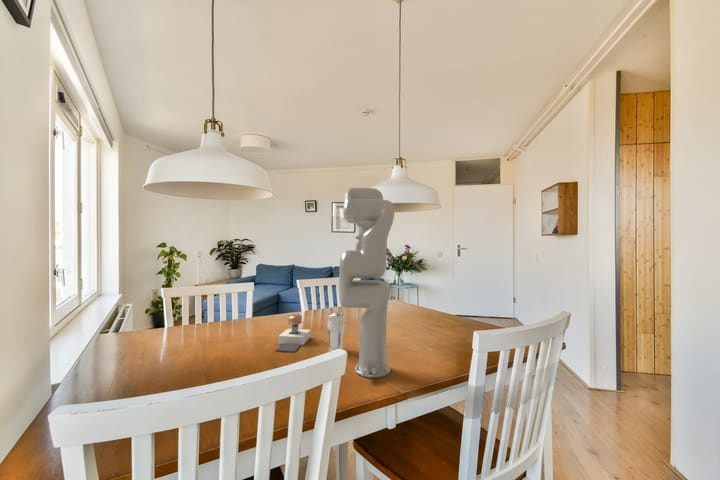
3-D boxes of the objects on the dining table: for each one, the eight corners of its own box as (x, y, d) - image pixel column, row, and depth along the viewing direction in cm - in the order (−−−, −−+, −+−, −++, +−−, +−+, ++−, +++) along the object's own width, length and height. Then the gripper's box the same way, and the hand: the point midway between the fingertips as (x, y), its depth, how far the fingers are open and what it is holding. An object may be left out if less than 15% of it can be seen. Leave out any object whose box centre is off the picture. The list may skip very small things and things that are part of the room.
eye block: (302, 345, 135) (302, 337, 135) (278, 343, 136) (278, 335, 136) (310, 337, 146) (310, 329, 146) (287, 336, 147) (287, 328, 147)
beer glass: (333, 346, 133) (333, 311, 133) (347, 349, 130) (347, 313, 130) (323, 351, 127) (324, 315, 127) (337, 354, 124) (338, 317, 124)
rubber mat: (294, 352, 126) (294, 351, 126) (275, 351, 127) (275, 350, 127) (300, 345, 134) (300, 344, 134) (283, 344, 135) (283, 343, 135)
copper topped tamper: (299, 343, 138) (299, 318, 138) (286, 342, 138) (286, 317, 138) (303, 338, 144) (303, 314, 143) (290, 338, 144) (291, 314, 144)
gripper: (347, 238, 149) (347, 274, 149) (383, 239, 146) (383, 275, 146) (350, 238, 157) (350, 272, 157) (384, 239, 154) (384, 273, 154)
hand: (366, 274), depth 151 cm, fingers open, 9 cm apart
